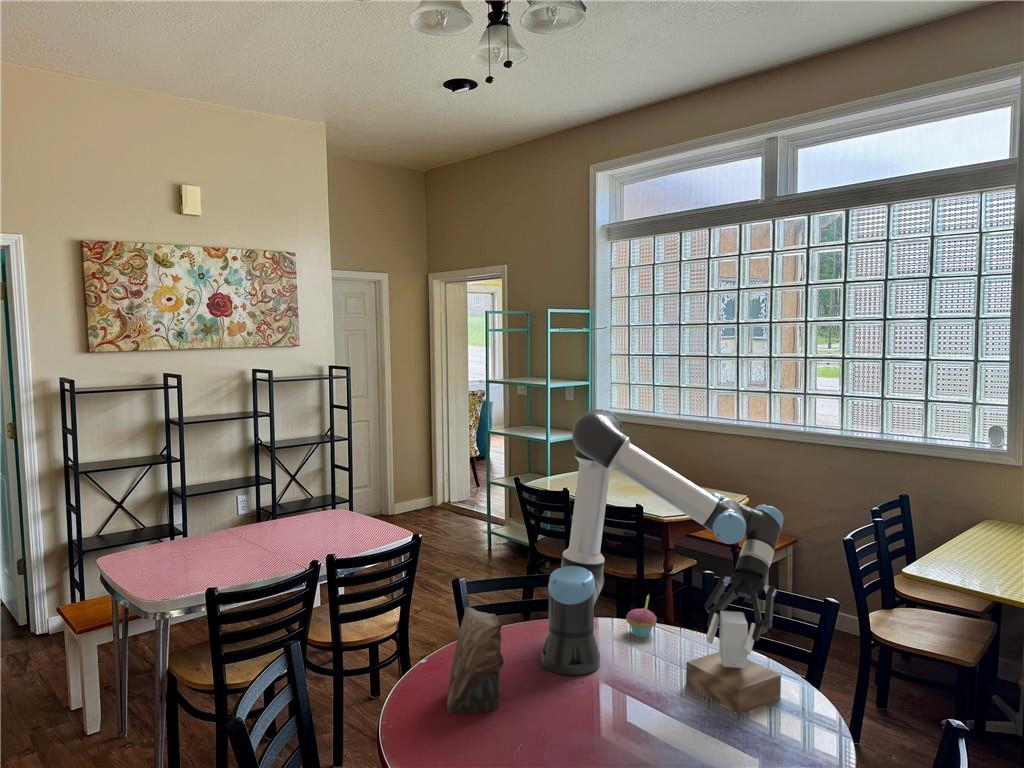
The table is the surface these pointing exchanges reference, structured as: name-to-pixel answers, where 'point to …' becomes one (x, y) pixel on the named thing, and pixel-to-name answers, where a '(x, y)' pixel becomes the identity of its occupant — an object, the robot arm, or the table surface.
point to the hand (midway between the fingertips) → (727, 646)
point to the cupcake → (641, 620)
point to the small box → (733, 639)
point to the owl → (476, 665)
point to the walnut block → (733, 683)
